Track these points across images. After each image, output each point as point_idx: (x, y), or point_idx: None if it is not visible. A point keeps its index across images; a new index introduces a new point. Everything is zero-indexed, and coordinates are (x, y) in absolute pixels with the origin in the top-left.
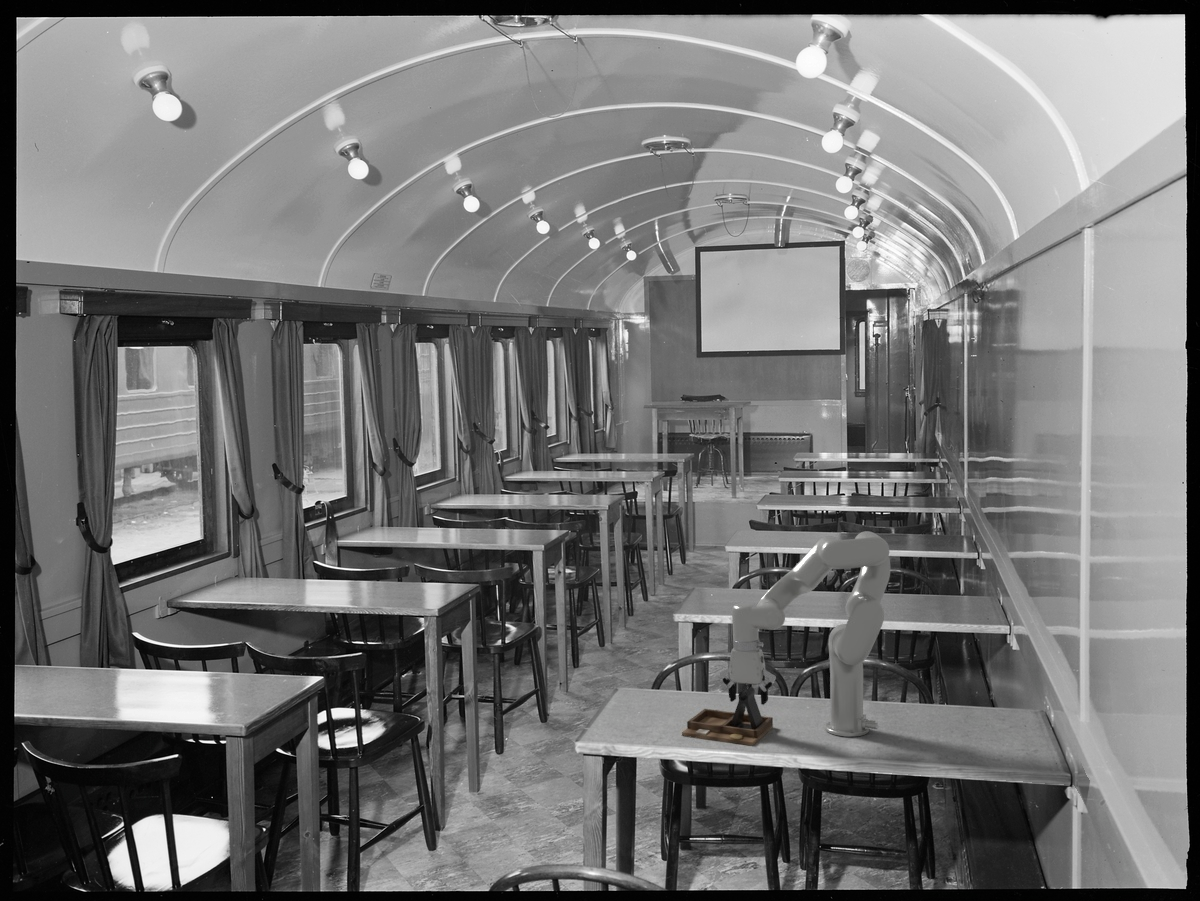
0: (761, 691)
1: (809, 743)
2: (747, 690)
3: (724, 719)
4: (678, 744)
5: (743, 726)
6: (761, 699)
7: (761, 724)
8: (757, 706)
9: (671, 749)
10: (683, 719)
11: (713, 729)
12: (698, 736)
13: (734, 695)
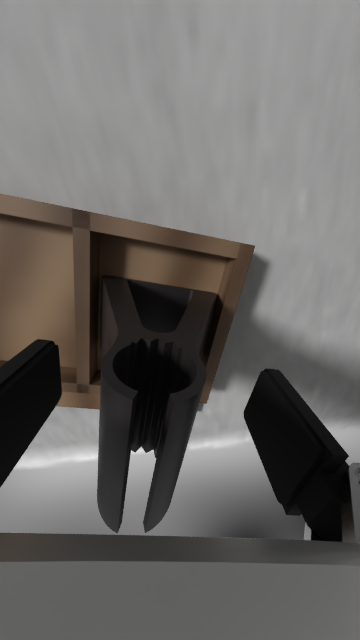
0: (289, 513)
1: (335, 361)
2: (159, 499)
3: (34, 229)
4: None
5: (142, 315)
6: (257, 444)
7: (213, 343)
8: (205, 322)
9: (17, 467)
10: None
11: None
12: None
13: (40, 390)
